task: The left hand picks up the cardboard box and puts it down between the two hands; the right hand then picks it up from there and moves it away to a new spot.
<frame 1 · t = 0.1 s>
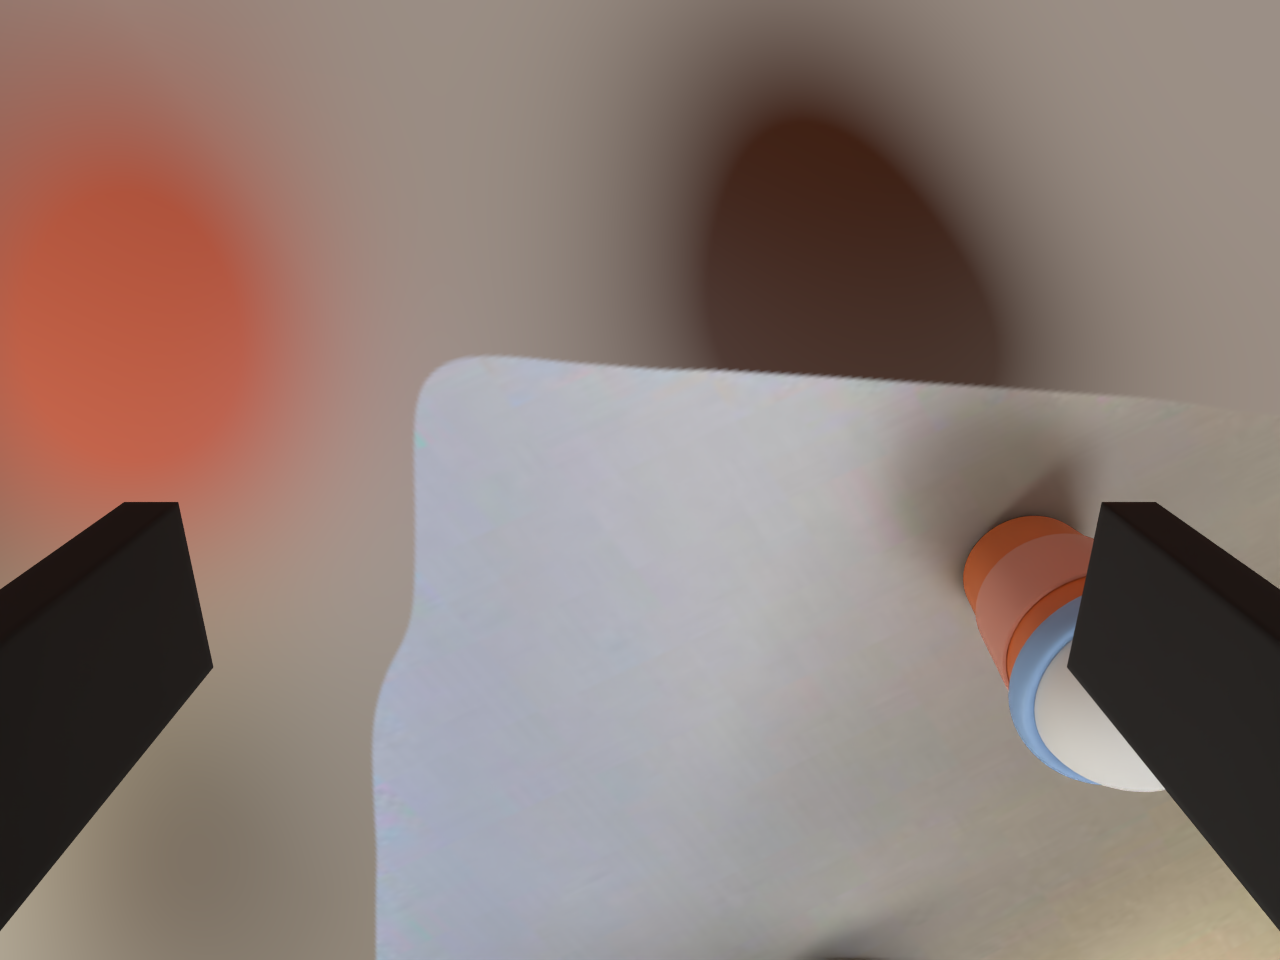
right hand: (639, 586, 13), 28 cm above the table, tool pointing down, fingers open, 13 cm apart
cup with straw: (1021, 567, 44), on the table
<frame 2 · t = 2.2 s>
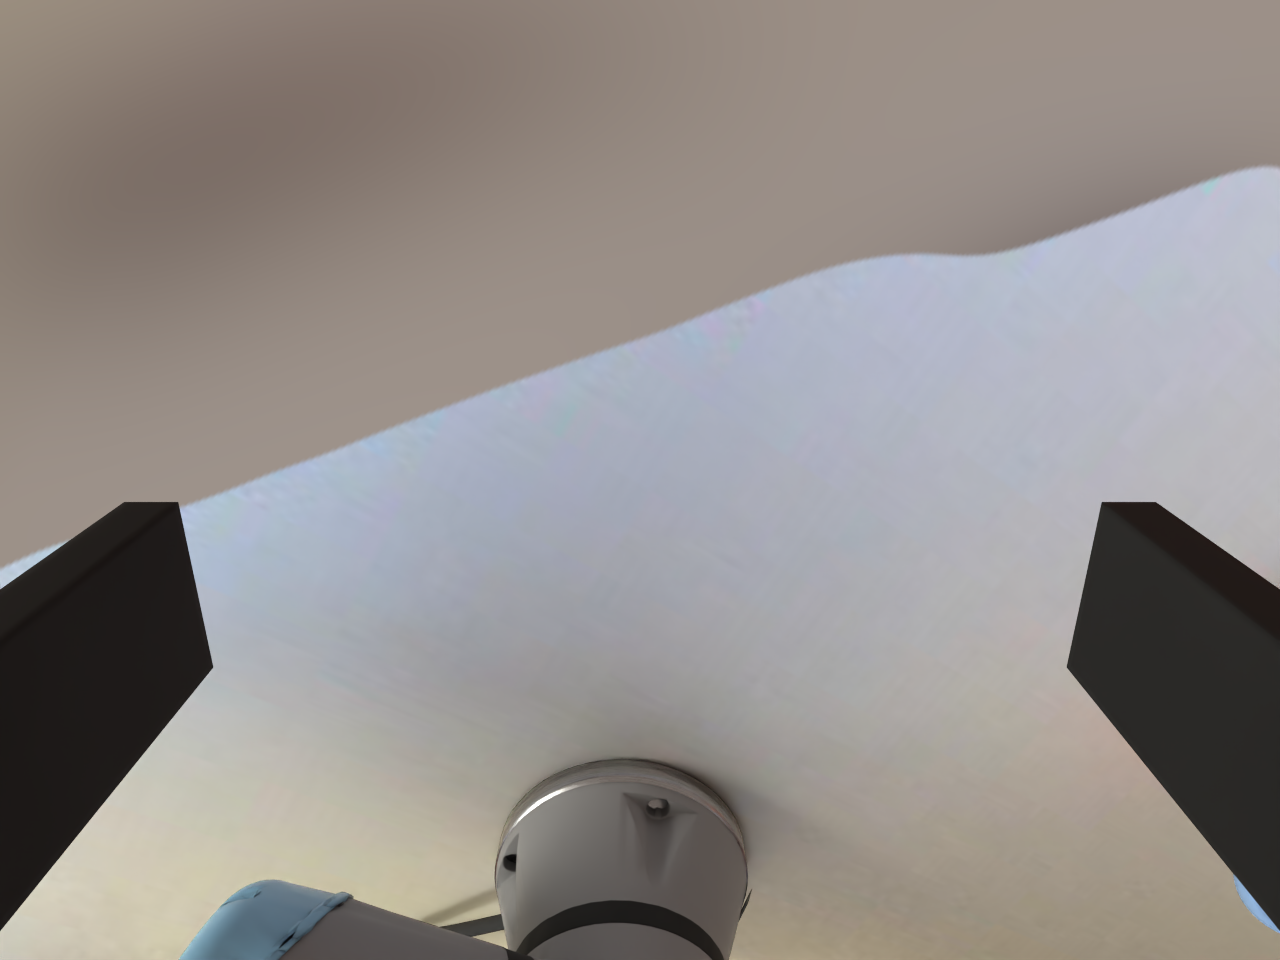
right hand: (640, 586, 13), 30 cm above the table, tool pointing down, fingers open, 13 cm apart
cup with straw: (1205, 725, 50), on the table
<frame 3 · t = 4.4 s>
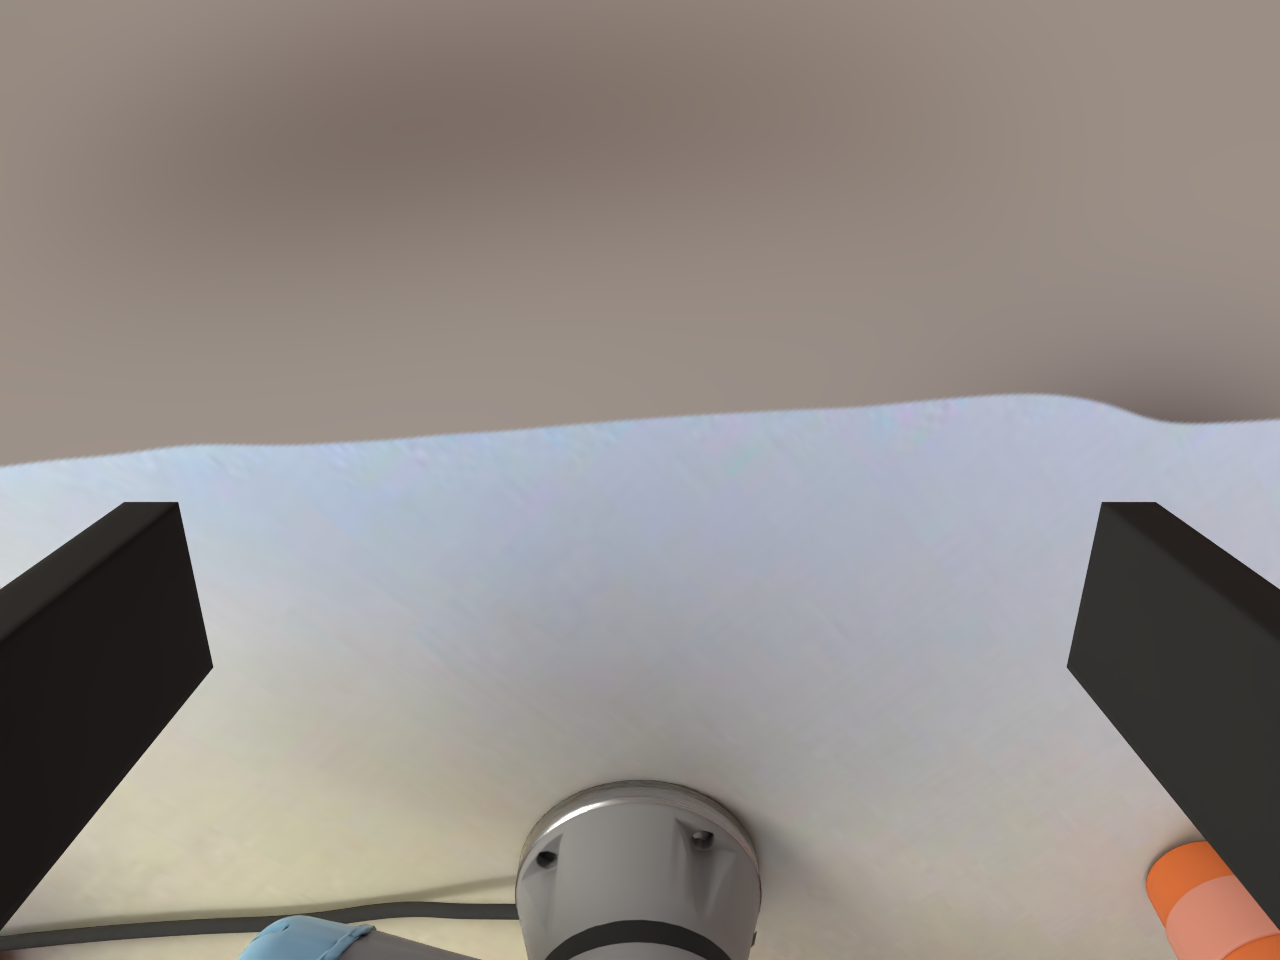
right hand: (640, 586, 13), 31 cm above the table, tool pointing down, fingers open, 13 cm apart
cup with straw: (1191, 873, 55), on the table
when the left hand's fingers open (2 cm above the table, at t = 6.9 s): cardboard box stays where it is, on the table.
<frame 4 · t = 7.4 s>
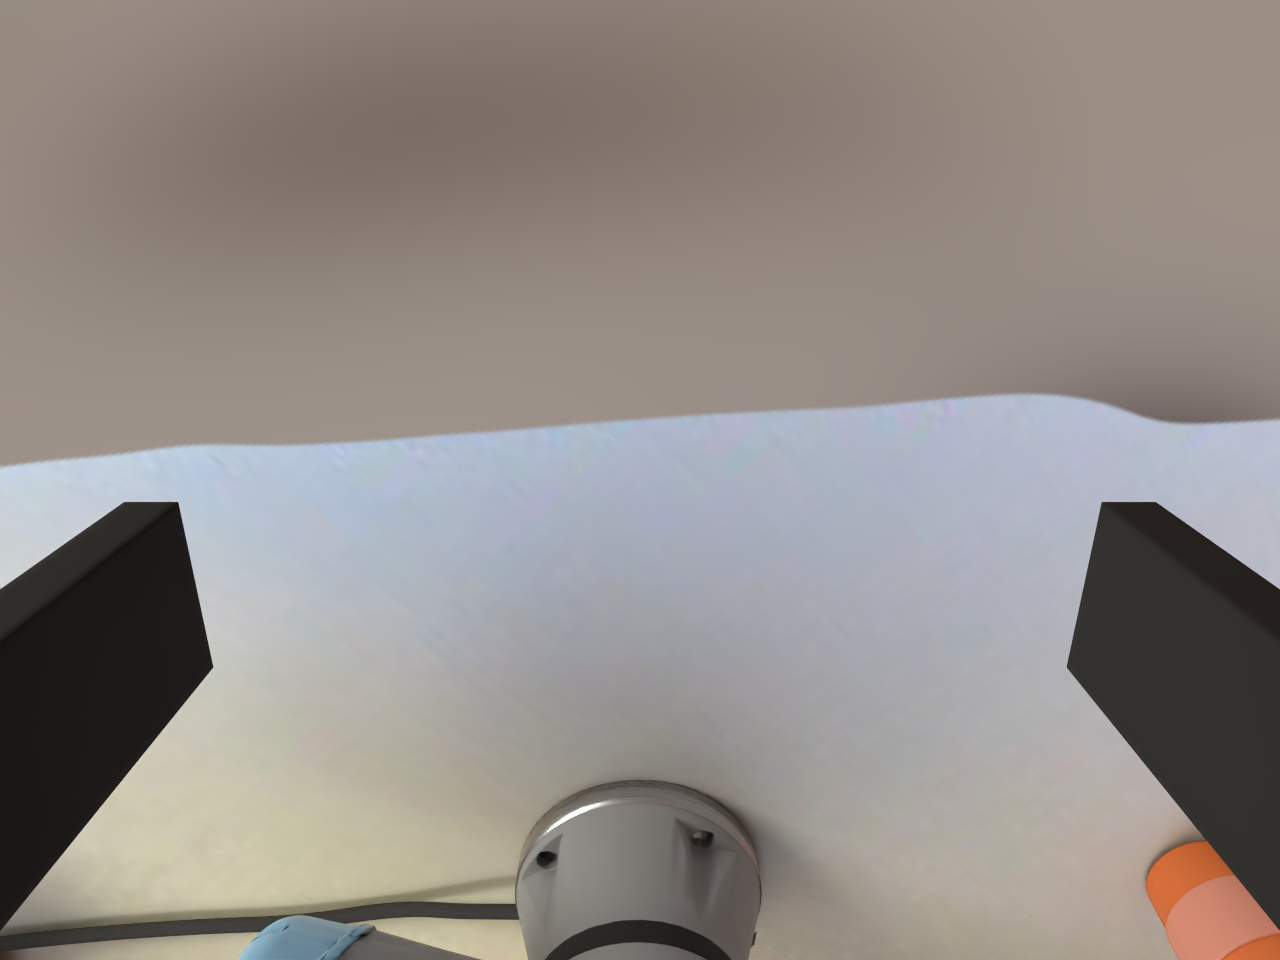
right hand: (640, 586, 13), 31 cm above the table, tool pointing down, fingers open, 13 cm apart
cup with straw: (1191, 873, 55), on the table
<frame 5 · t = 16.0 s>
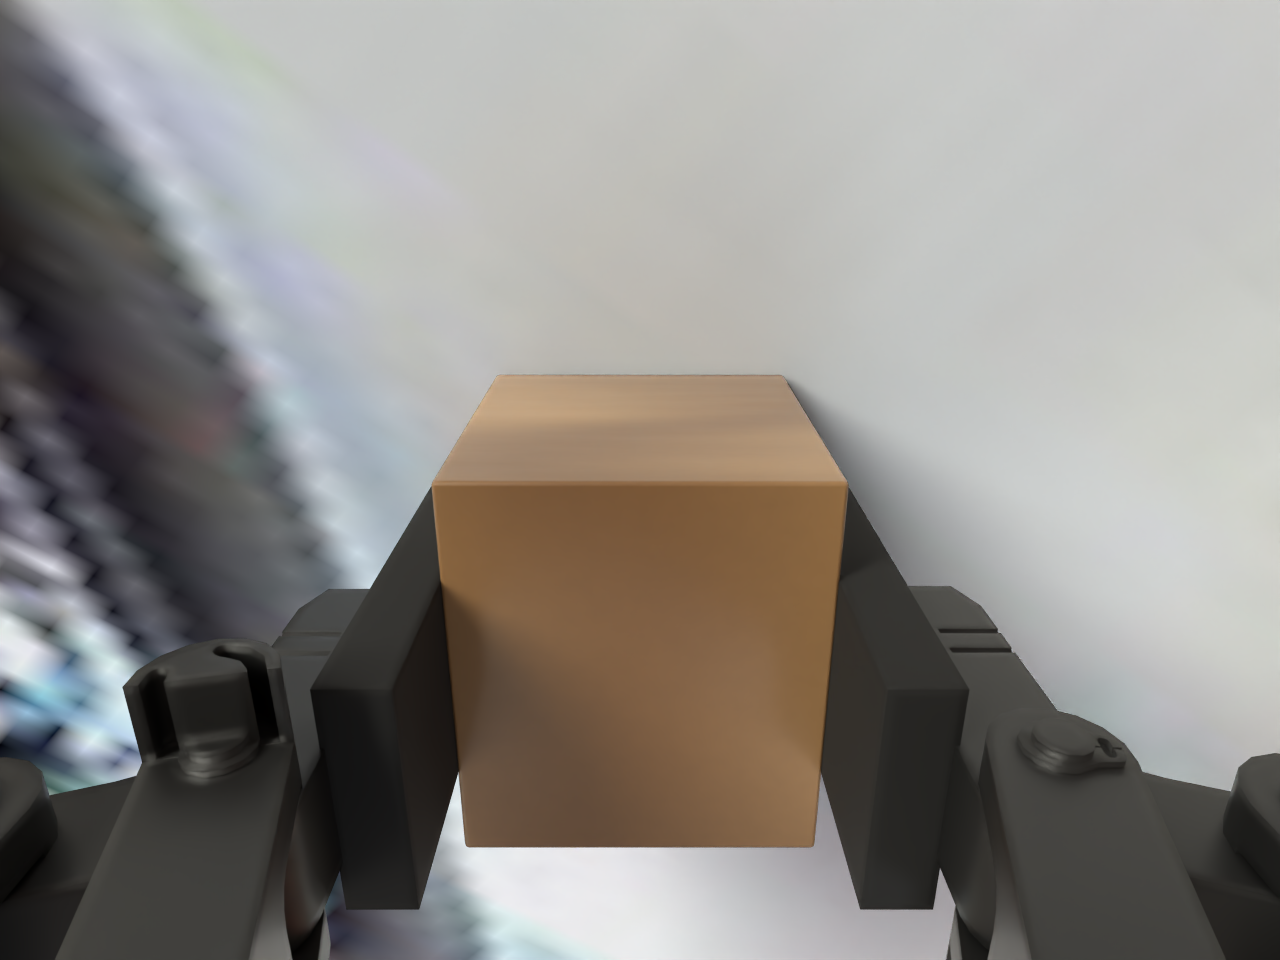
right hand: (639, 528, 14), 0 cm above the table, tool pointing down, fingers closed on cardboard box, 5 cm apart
cardboard box: (639, 522, 15), on the table, touching right hand
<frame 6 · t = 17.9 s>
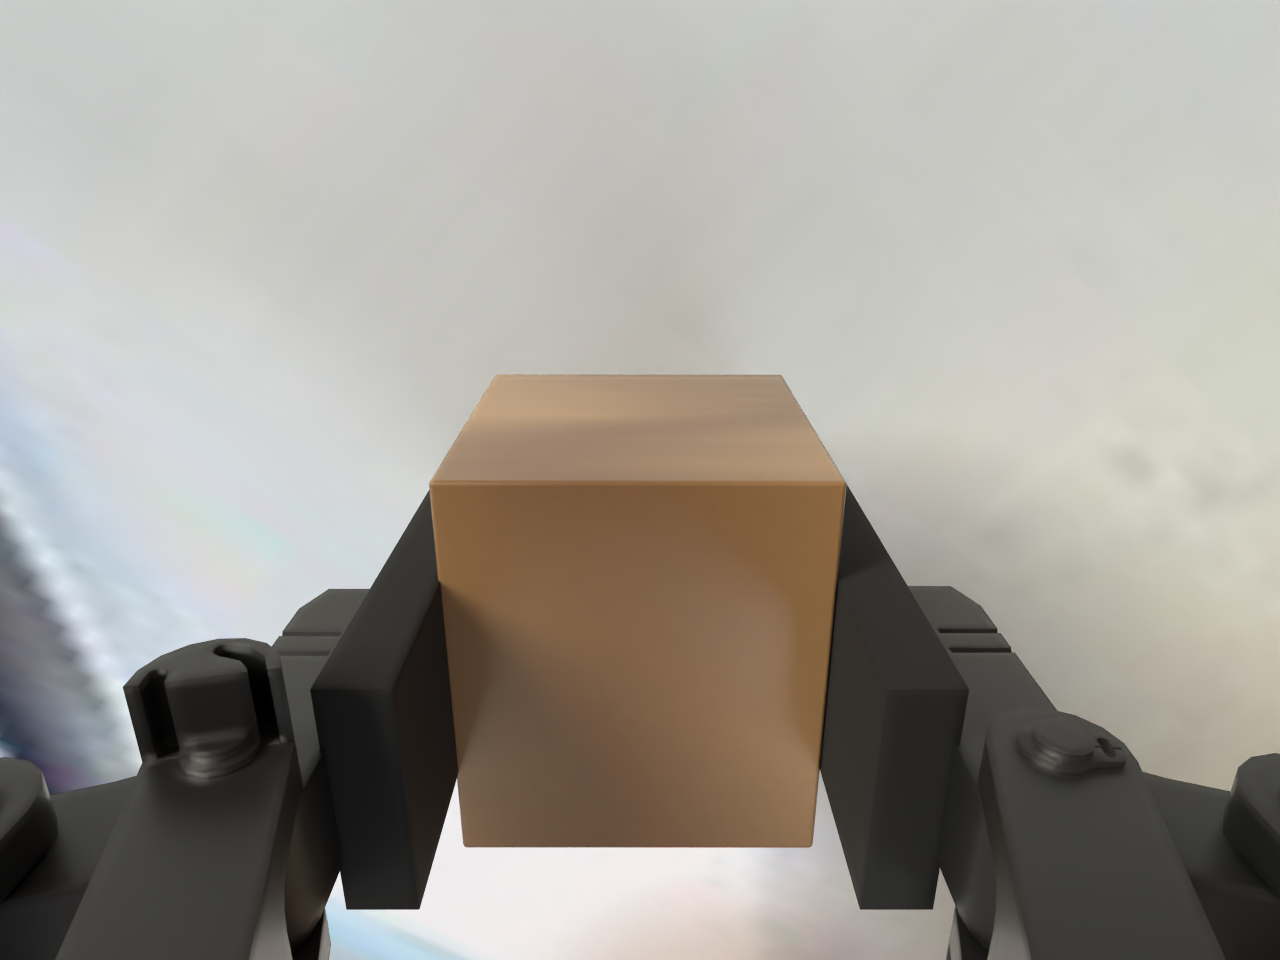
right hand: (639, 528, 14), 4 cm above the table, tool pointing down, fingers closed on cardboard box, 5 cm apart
cardboard box: (638, 521, 15), point 4 cm above the table, touching right hand
when the right hand's fingers open (1 cm above the table, at t = 20.1 s): cardboard box stays where it is, on the table.
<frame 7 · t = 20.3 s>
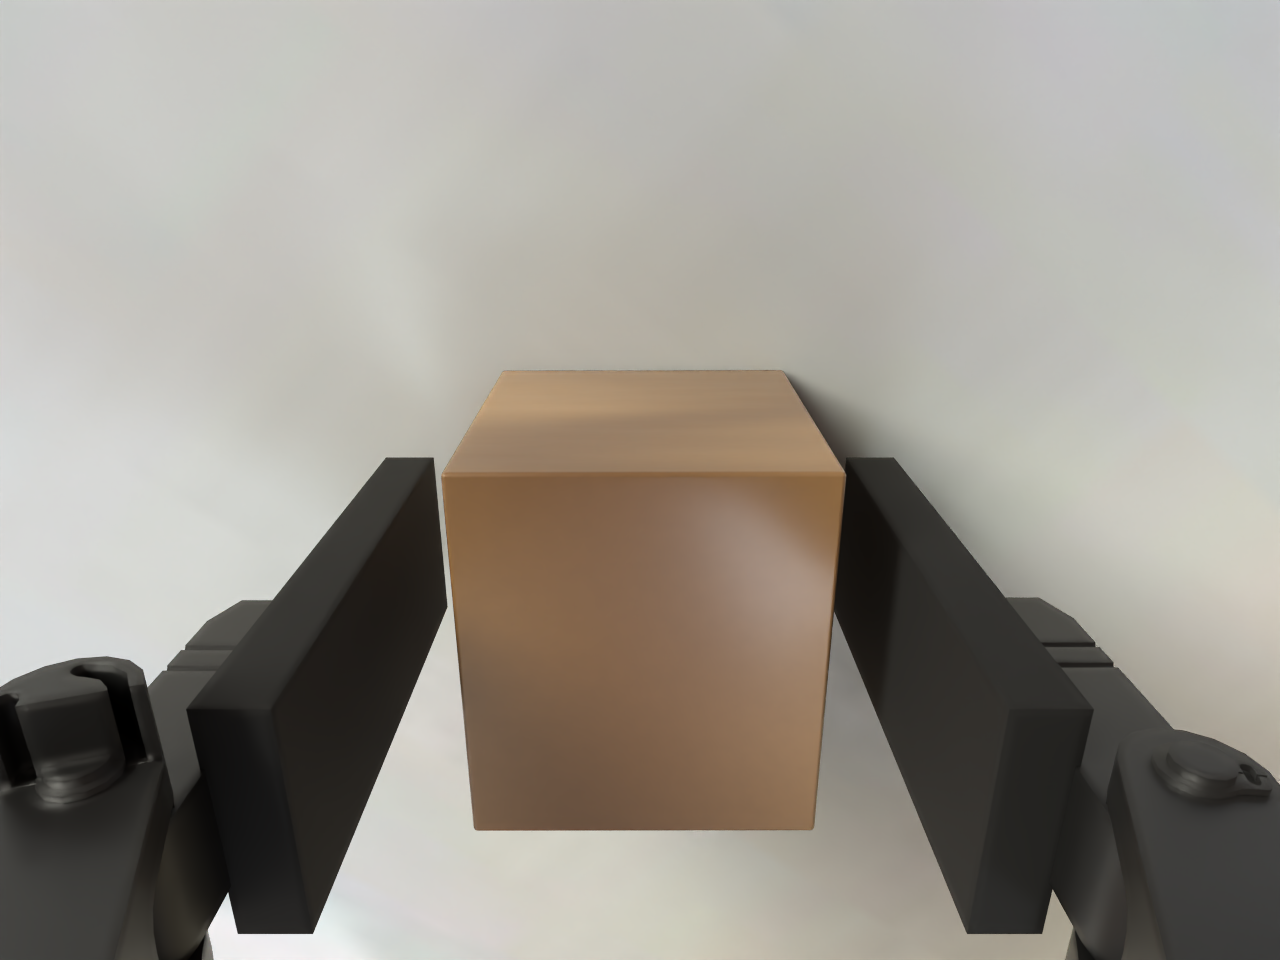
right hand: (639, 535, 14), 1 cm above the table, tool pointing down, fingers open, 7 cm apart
cardboard box: (642, 515, 15), on the table
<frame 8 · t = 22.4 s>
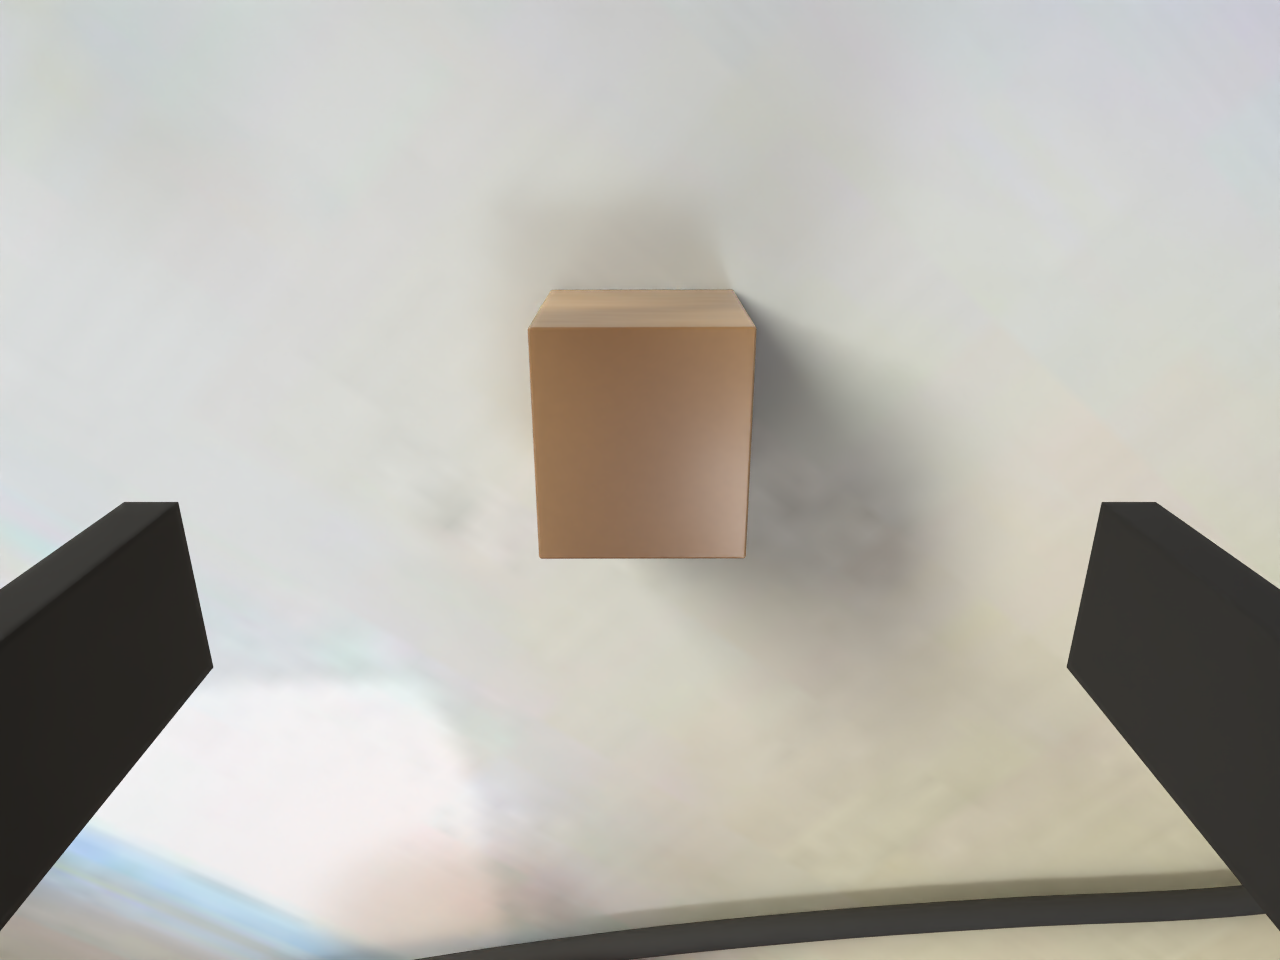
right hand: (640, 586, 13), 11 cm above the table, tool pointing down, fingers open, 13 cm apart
cardboard box: (642, 389, 23), on the table
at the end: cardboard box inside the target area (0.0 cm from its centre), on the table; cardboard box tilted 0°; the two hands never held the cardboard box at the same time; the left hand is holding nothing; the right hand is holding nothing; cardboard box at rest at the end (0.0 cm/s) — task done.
